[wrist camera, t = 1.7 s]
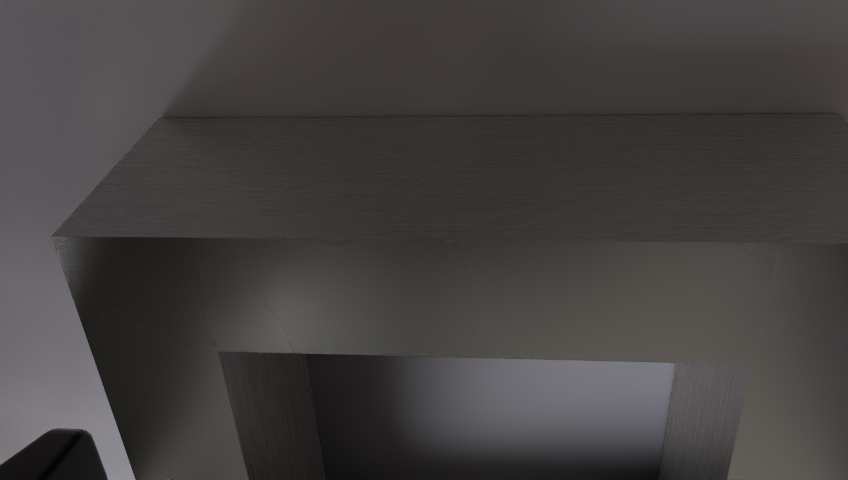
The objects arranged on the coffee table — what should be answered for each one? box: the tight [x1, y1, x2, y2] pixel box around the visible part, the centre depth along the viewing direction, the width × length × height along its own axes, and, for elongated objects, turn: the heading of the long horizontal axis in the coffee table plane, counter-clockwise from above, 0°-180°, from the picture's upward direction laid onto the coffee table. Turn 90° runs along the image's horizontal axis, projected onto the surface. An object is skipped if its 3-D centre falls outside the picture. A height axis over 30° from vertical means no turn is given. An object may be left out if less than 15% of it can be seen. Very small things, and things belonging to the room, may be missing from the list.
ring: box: [52, 114, 848, 480], centre depth 9 cm, size 7×7×2 cm
